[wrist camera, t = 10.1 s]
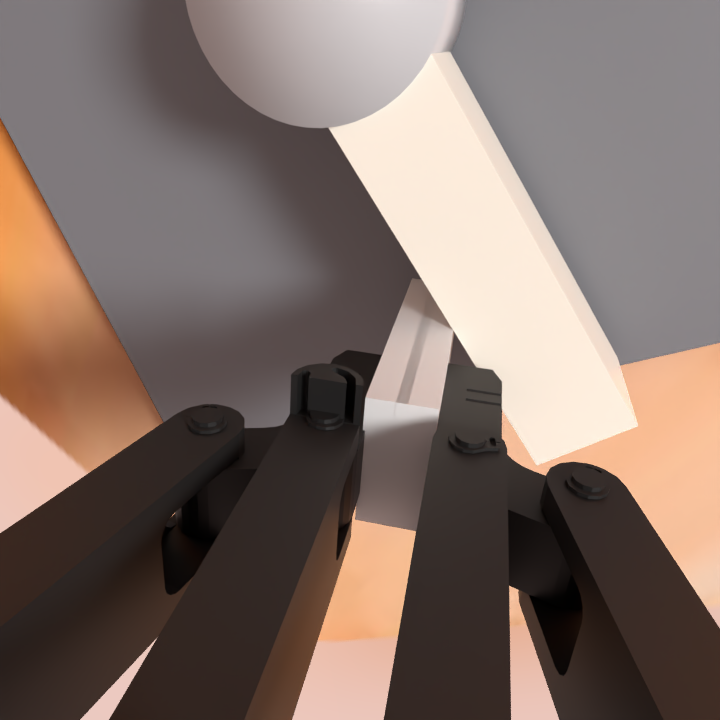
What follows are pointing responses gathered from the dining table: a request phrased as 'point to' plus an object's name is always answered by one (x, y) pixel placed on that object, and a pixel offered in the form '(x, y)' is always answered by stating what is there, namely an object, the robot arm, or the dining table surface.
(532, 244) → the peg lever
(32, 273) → the dining table surface
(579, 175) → the dial board
